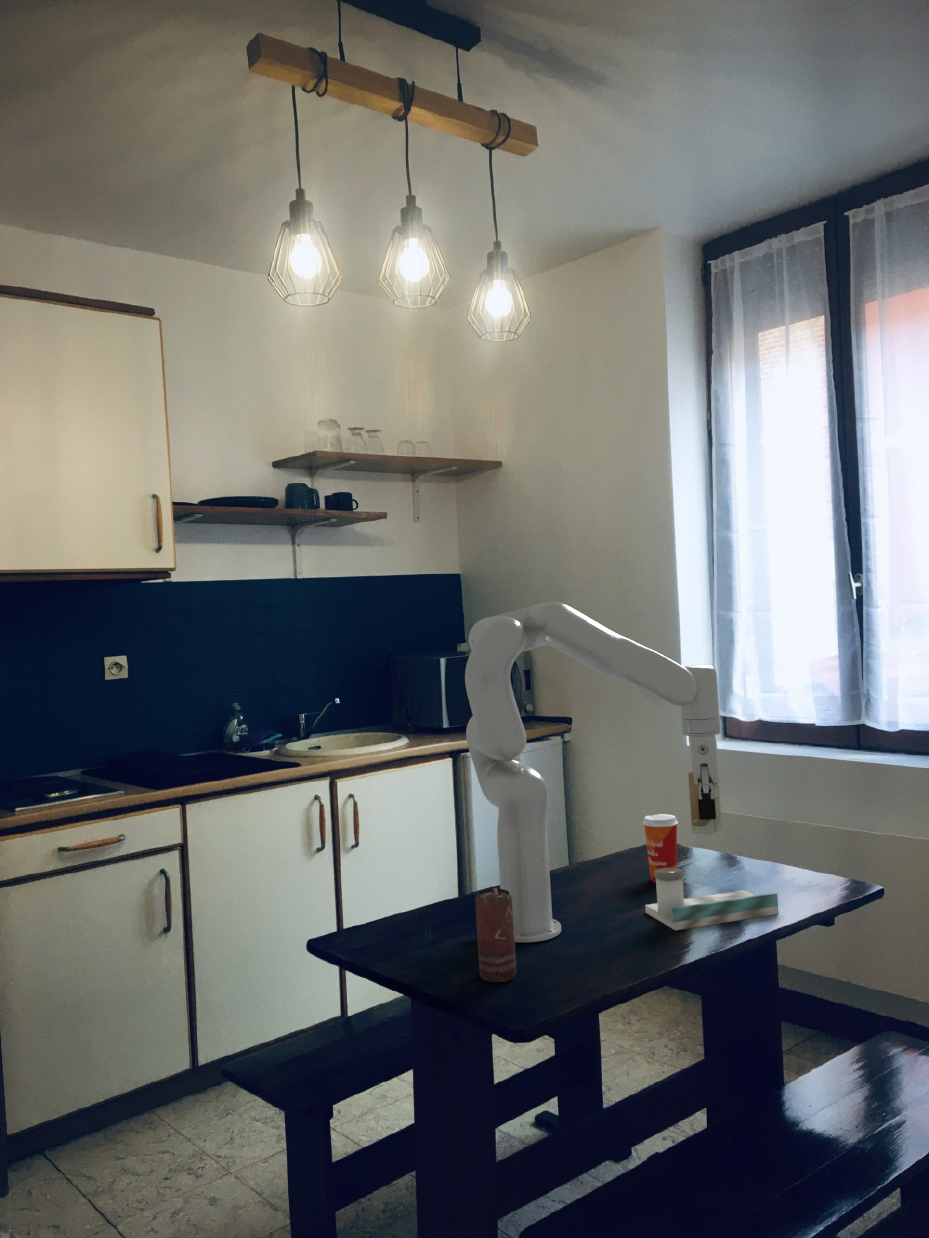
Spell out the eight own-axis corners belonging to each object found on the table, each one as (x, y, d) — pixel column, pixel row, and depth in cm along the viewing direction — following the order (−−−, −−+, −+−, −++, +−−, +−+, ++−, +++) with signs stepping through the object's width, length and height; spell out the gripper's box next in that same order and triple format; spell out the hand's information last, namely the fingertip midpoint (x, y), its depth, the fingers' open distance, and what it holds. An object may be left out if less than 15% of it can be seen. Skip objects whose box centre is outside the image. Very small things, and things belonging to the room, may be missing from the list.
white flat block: (675, 930, 174) (673, 909, 174) (645, 912, 185) (644, 892, 185) (778, 913, 180) (777, 893, 180) (743, 897, 191) (742, 878, 191)
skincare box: (702, 827, 192) (698, 767, 192) (722, 828, 190) (718, 767, 190) (691, 833, 187) (686, 772, 187) (712, 835, 184) (708, 773, 184)
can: (514, 968, 159) (509, 885, 159) (518, 982, 153) (512, 896, 153) (479, 970, 159) (474, 888, 159) (481, 985, 153) (475, 899, 153)
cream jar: (665, 919, 176) (662, 876, 176) (652, 911, 181) (649, 869, 181) (691, 915, 177) (688, 872, 177) (677, 907, 182) (674, 866, 182)
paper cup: (640, 878, 210) (636, 816, 210) (670, 873, 212) (666, 812, 212) (657, 887, 202) (653, 822, 203) (688, 882, 205) (684, 818, 205)
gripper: (722, 731, 179) (728, 824, 179) (718, 721, 196) (723, 806, 196) (682, 732, 181) (688, 824, 181) (681, 722, 198) (687, 806, 198)
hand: (706, 814), depth 188 cm, fingers closed on skincare box, 7 cm apart
